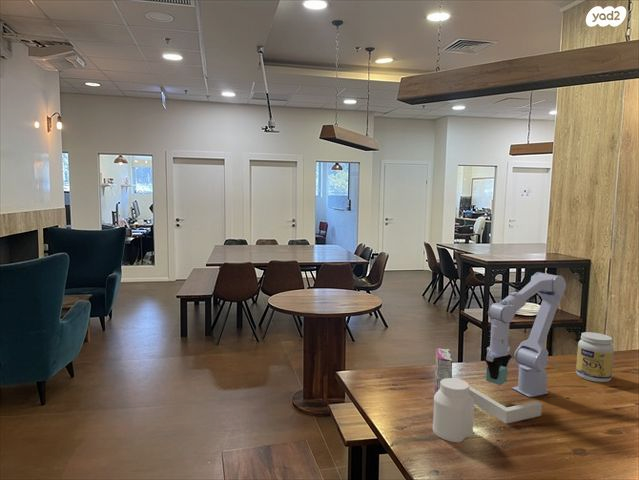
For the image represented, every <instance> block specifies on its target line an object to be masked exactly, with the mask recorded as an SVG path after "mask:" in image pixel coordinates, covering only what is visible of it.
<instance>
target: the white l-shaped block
mask: <svg viewBox="0 0 639 480" xmlns="http://www.w3.org/2000/svg"><path fill="white" fill-rule="evenodd" d="M469 394H470V396H471V397H472V399H473V400H474V406H476V407H478V408H480V409H482V411H485V412H486V413H487V414H490V415H491V416H493V417H494V418H496V419H497V420H499V421H501V422H502V423H504V424H506V425H507V424H511V423H515V422H519V421H524V420H528V419H533V418H536V417H541V416H542V409H543V403H541V402H540V401H538V400H535V401H531V402H527V403H522V404H517V405H513V406H508V407H507V406H505V405H503V404H501V403H500V402H497V401H496V400H494V399H493V398H491V397H489V396H487V395H486V394H484V393H482V392H480V391H478V390H477V389H475V388H473V387H472V386H470V385H469Z"/></svg>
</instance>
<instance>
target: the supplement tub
mask: <svg viewBox="0 0 639 480" xmlns="http://www.w3.org/2000/svg"><path fill="white" fill-rule="evenodd" d="M576 353H577V354H576V363H575V364H576V365H575V366H576V367H575V373H576V374H577V376H579V377H580V378H581V379H585V380H587V381H590V382H595V383H608V382H610V381H611V380H612V377H613V367H614V366H613V365H614V356H615V355H614V353H615V348H614V345H613V338H612V337H611V336H610V335H606V334H604V333H598V332H594V331H593V332H590V331H585V332H581V335H580V340H579V341H578V342H577V352H576Z"/></svg>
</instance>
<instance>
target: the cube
mask: <svg viewBox="0 0 639 480" xmlns="http://www.w3.org/2000/svg"><path fill="white" fill-rule="evenodd" d="M485 375H486V379H485V381H486V382H489V383H493V384H494V385H498V386H501V385H503V384H504V383H506V382H507V378H508V366H507V367H504V366H500V369H499V374H498V378H497V380H495V379H492V378H490V373H489V368H488V366H486V374H485Z"/></svg>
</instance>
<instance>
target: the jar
mask: <svg viewBox="0 0 639 480" xmlns="http://www.w3.org/2000/svg"><path fill="white" fill-rule="evenodd" d="M469 386H470V384H469V383H468V382H467V381H465V380H462V379H459V378H454V377H452V378H446V379H442V380H441V381H440V389H439V390H438V391H437V392H436V394H435V393H434V396H433V420H432V431H433V433H434V435H435V436H437V437H439V438H440V439H442V440H445V441H446V442H447V441H448V442H450V443H451V442H452V443H461V442H463V440H464V439H467V438H470V437H472V436H473V435H474V430H473V429H474V428H473V426H474V411H475V404H474V400H473V399H472V397H471V396H470V394H469Z"/></svg>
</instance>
